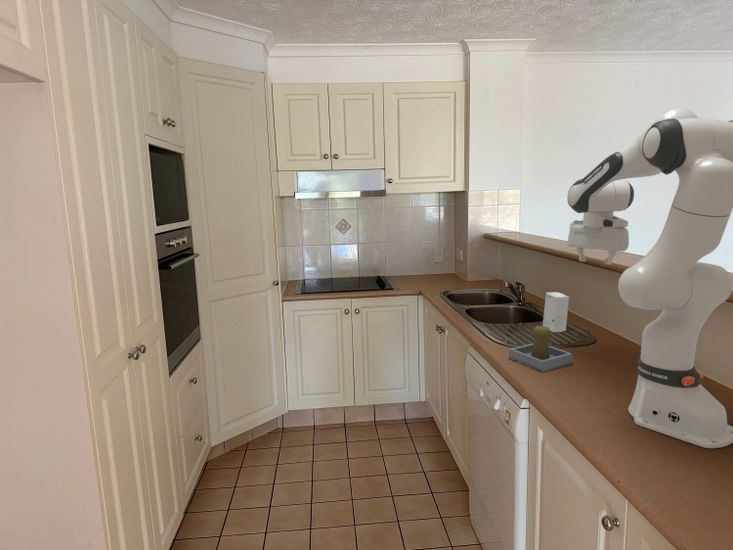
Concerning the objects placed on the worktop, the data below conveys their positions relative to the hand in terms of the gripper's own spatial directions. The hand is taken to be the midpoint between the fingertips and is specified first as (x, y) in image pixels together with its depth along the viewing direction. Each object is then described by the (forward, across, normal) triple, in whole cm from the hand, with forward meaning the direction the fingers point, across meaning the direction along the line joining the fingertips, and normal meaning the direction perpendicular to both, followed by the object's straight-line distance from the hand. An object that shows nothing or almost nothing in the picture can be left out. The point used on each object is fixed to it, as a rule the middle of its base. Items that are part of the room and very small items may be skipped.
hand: (595, 262), depth 156 cm
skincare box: (+32, -26, +14) cm, 44 cm away
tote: (+32, -4, -19) cm, 38 cm away
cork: (+32, -4, -19) cm, 37 cm away
